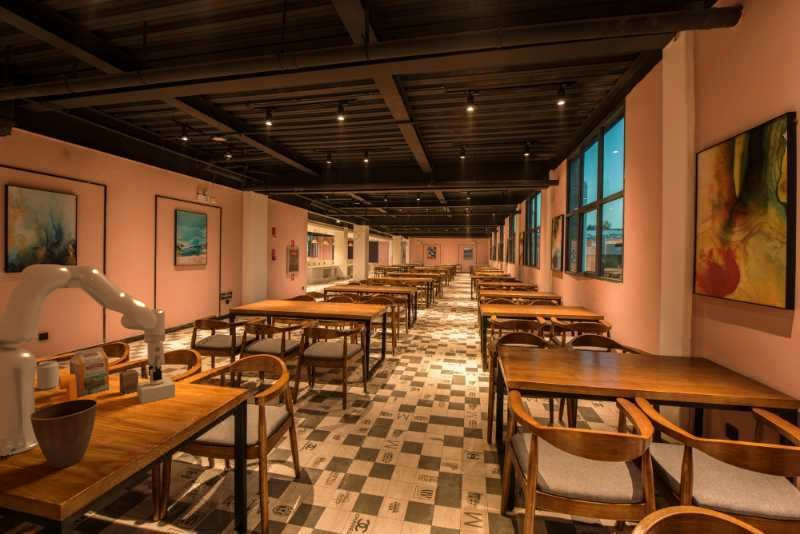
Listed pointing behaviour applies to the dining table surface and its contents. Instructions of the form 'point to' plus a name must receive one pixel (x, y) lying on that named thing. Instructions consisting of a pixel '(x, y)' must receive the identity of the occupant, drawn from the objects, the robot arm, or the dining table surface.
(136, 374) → the walnut square bit
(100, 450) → the dining table surface
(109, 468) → the dining table surface
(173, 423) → the dining table surface
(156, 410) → the dining table surface
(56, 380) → the can
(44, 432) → the plant pot
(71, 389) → the bracket
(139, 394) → the bore block
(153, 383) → the birch dowel
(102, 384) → the milk carton
